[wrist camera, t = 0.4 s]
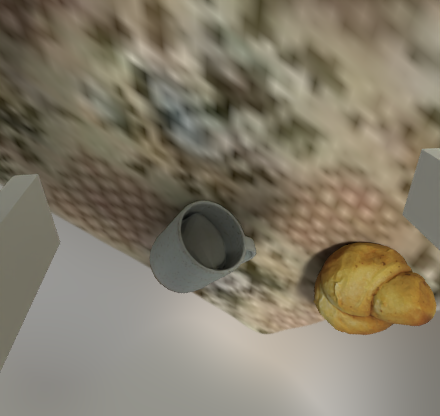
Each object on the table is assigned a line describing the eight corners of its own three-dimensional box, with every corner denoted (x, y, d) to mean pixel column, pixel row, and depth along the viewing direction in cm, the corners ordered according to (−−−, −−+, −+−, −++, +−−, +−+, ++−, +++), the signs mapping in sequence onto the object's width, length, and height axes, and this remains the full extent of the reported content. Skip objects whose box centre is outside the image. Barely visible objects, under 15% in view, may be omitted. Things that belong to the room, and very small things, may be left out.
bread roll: (364, 301, 45) (373, 365, 40) (293, 283, 44) (292, 346, 39) (431, 247, 36) (454, 322, 30) (341, 222, 35) (349, 294, 30)
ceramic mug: (155, 226, 40) (135, 286, 35) (188, 186, 34) (170, 251, 29) (232, 262, 43) (224, 321, 38) (274, 231, 38) (271, 296, 33)
